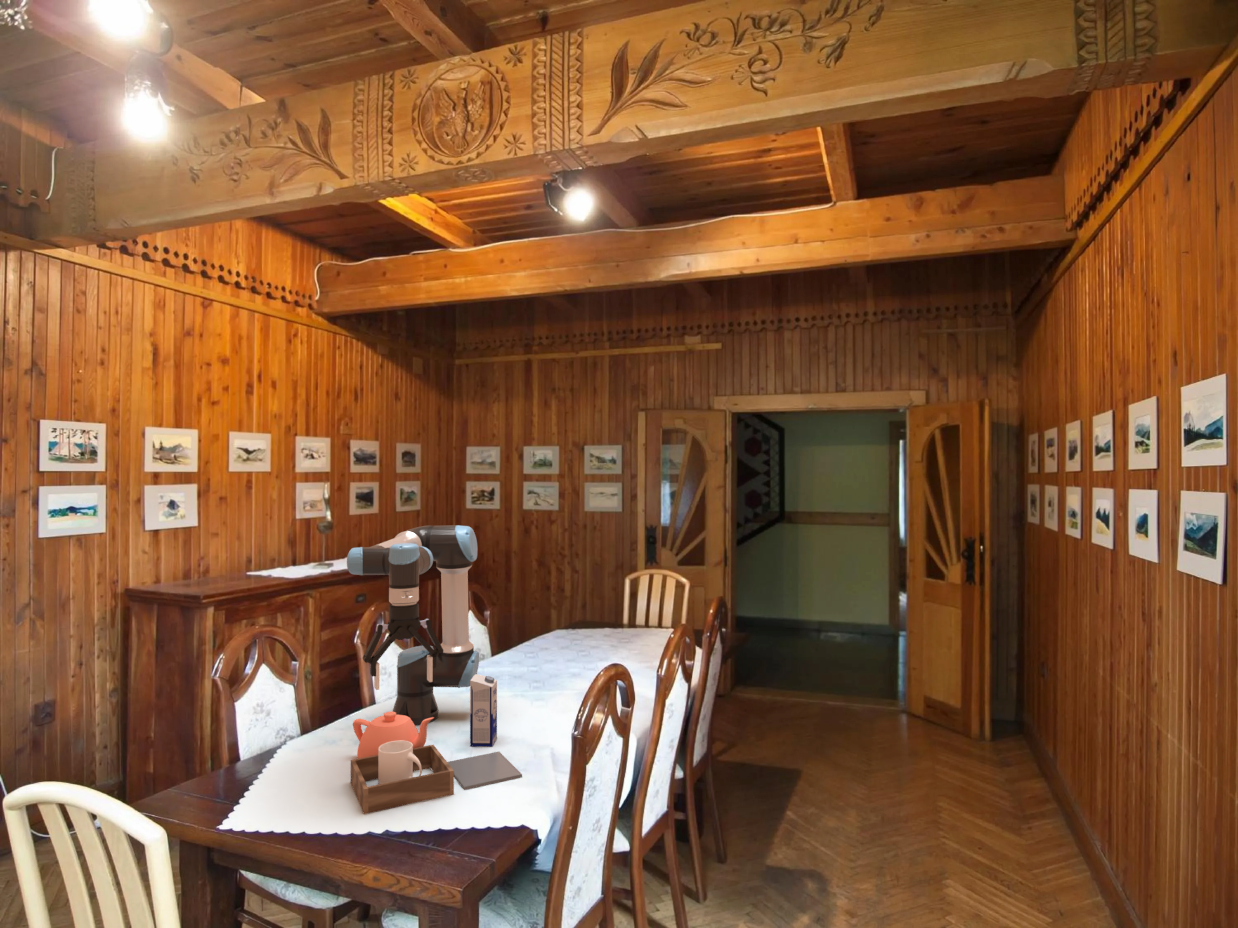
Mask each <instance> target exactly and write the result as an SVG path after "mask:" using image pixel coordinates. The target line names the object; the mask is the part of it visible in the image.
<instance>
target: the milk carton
mask: <svg viewBox="0 0 1238 928" xmlns="http://www.w3.org/2000/svg"><path fill="white" fill-rule="evenodd" d="M469 691H470V693H469V700H470V701H469V703H470V704H469V715H470V716H469V732H470V733H469V747H472V748H473V747H477V748H478V747H481V748H482V747H484V748H488V747H489V748H492V747H493V746H494V745H495V743H496V741H497V739H498V679H495V678H494V677H492V676H489V675H488V676H487V675H486V676H485V675H482V674H478V673H477V674H475V675H474V676H473V678H472V679H471V680H470V687H469Z"/></svg>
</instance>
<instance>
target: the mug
mask: <svg viewBox="0 0 1238 928" xmlns="http://www.w3.org/2000/svg"><path fill="white" fill-rule="evenodd" d="M413 762H415V763H416V764H417V765H418V766H419V769H420V770H419V774H418V776H422V771H423V770H422V768H421V763H420V761H419V759H418V758H417V757H416V756H415V755H414V754H413V744H412V743H411V742H409V741H403V740H399V741H391V742H387V743H384V744H382V745H381V746H380V747H379V748H378V779H377V780H378V781H377V783H378V784H377V785H379V784H383V783H388V782H393V781H398V780H403V779H408V778H412V777H413V776H414V772H413Z"/></svg>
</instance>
